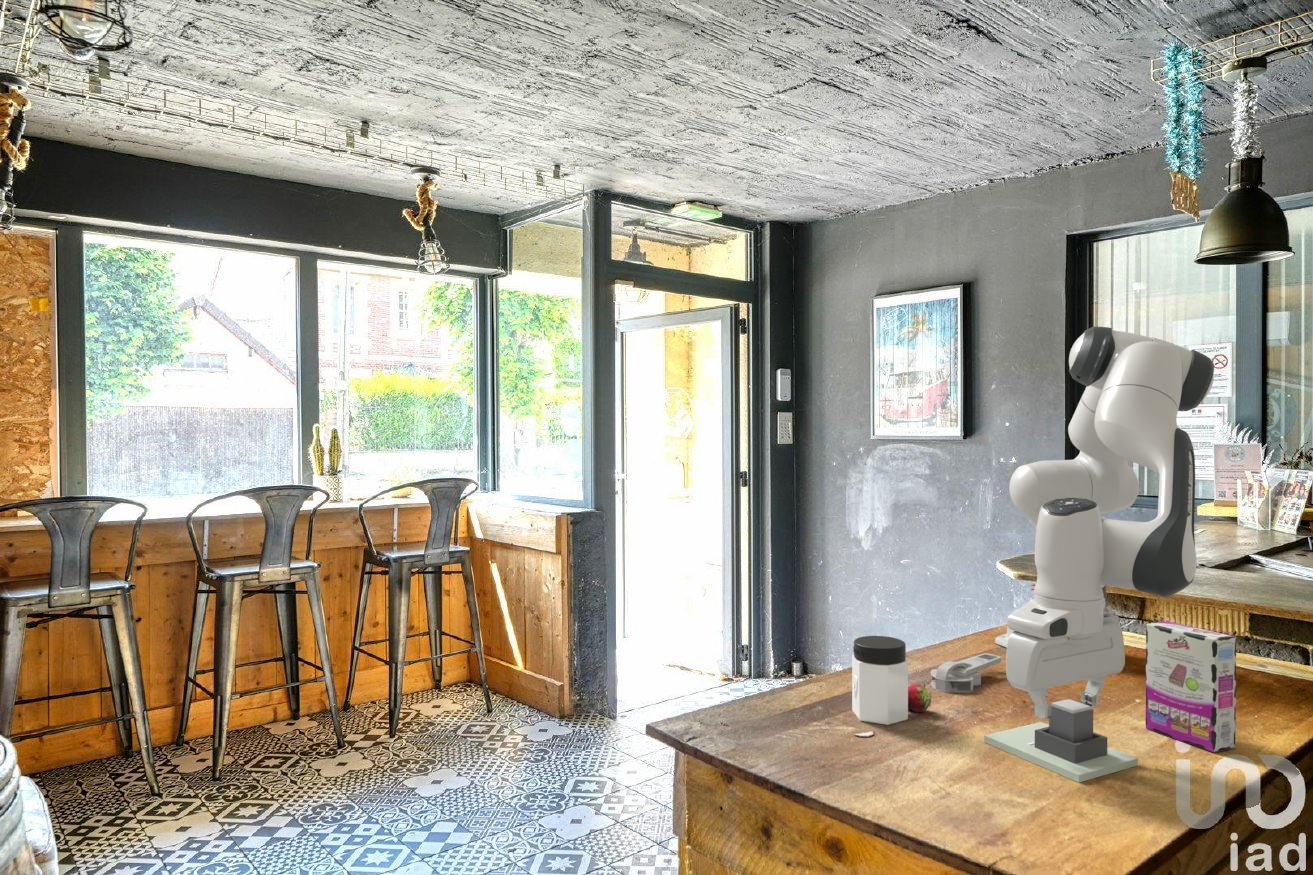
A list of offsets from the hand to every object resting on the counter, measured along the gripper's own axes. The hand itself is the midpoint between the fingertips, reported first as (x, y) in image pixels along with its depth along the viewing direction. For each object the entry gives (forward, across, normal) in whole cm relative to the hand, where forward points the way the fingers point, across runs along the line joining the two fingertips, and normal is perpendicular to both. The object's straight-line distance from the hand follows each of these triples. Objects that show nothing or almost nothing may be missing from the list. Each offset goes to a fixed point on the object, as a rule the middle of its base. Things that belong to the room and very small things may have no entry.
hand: (1066, 711), depth 124 cm
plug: (+5, 0, +1) cm, 5 cm away
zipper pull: (+7, -14, -32) cm, 36 cm away
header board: (+6, 0, -1) cm, 7 cm away
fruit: (+7, +6, -24) cm, 26 cm away
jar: (+7, +12, -25) cm, 29 cm away
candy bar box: (+7, -22, +4) cm, 23 cm away
